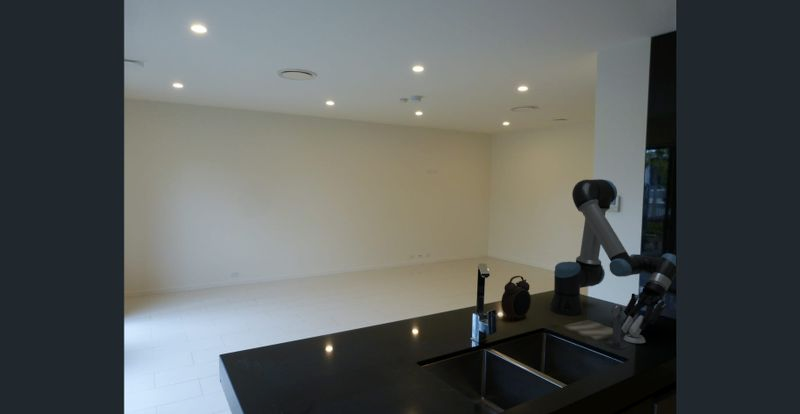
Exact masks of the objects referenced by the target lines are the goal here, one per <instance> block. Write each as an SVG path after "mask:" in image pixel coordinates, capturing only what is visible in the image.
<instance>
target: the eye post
mask: <svg viewBox="0 0 800 414" xmlns="http://www.w3.org/2000/svg"><path fill="white" fill-rule="evenodd" d="M611 314H612V315H611V316H612V328H613V336H612V340H609V341H605V345H607V346H610V347H612V348H615V349H618V350H624V349H627V348H628V345H626V344H623V343H621V342H622V341H621V340H622V339H621V338H622V334H621V332H622V329H621V328H622V317H623V314H624V308H623V307H622V305H619V304H616V305H614V306H613V307H612V310H611Z"/></svg>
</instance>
